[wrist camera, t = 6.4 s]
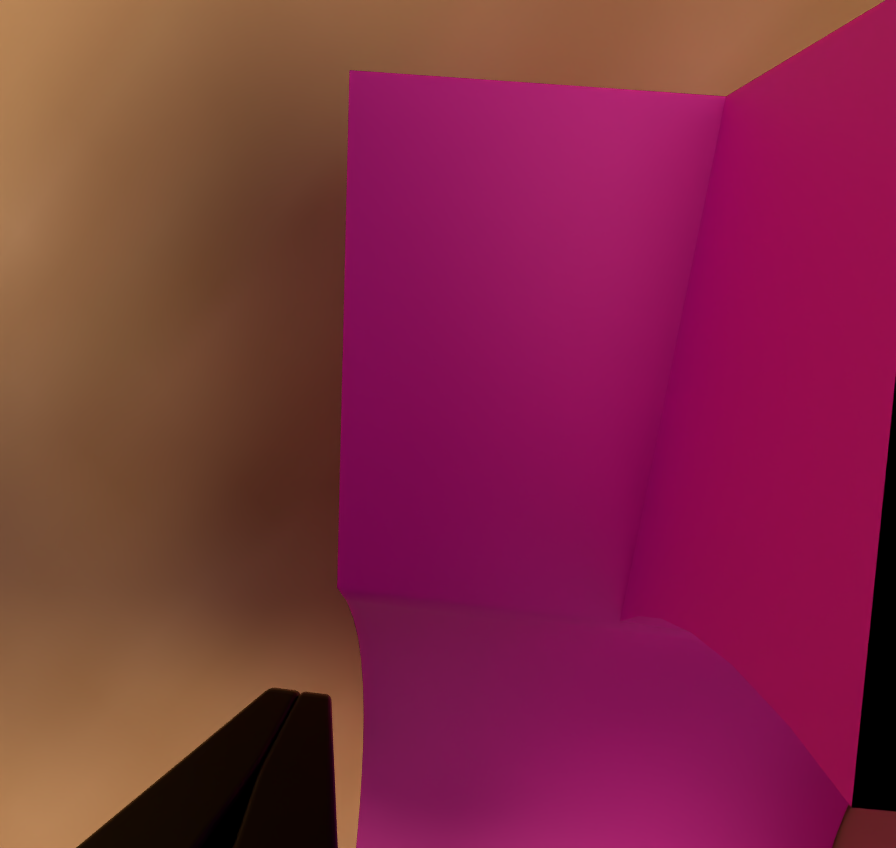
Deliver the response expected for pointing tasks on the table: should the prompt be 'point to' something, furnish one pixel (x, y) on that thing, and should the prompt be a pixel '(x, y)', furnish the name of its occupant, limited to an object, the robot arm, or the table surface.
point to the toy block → (623, 455)
